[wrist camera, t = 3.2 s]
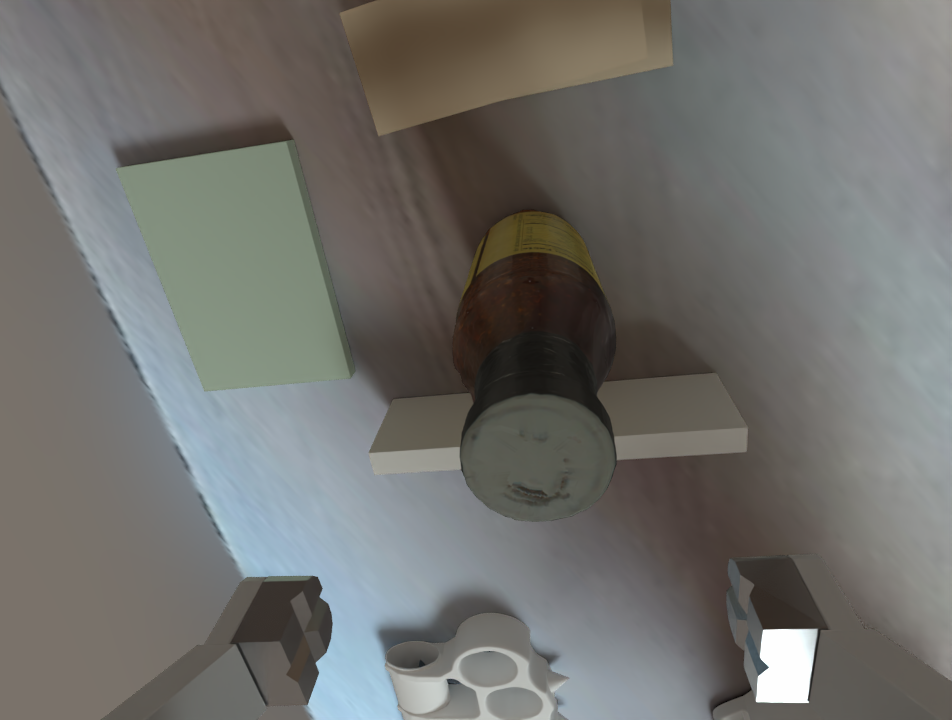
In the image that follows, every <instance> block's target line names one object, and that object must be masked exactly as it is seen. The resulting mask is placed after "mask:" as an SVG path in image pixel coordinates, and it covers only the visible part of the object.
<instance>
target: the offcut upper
mask: <svg viewBox="0 0 952 720" xmlns="http://www.w3.org/2000/svg"><path fill="white" fill-rule="evenodd" d="M339 14H340V17H341V20H342V23H343V26H344V30H345V33H346V36H347V39H348V42H349V45H350V48H351V51H352V55H353V58H354V61H355V64H356V67H357V70H358V73H359V77H360V80H361V83H362V86H363V89H364V92H365V95H366V98H367V102H368V105H369V108H370V111H371V114H372V117H373V120H374V124H375V127H376V130H377V133H378V136H381V135H385V134H388V133H392V132H395V131H399V130H402V129H405V128H409V127H412V126H416V125H419V124H423V123H426V122H430V121H433V120H437V119H440V118H443V117H447V116H450V115H454V114H457V113H461V112H464V111H468V110H471V109H475V108H478V107H482V106H485V105H488V104H492V103H495V102H499V101H502V100H506V99H509V98H513V97H516V96H520V95H523V94H527V93H530V92H533V91H537V90H540V89H544V88H547V87H551V86H554V85H558V84H561V83H565V82H568V81H572V80H575V79H578V78H582V77H585V76H589V75H592V74H596V73H599V72H603V71H606V70H610V69H613V68H617V67H620V66H623V65H627V64H630V63H634V62H637V61H641V60H644V59H648V54H647V46H646V38H645V30H644V22H643V13H642V5H641V0H376V1H373V2H370V3H367V4H364V5H361V6H358V7H355V8H352V9H349V10H346V11H343V12H341V13H339Z"/></svg>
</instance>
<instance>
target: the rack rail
mask: <svg viewBox="0 0 952 720" xmlns="http://www.w3.org/2000/svg"><path fill="white" fill-rule="evenodd" d="M597 397H598V399H599V400H600V402H601V403H602V404H603V406H604V408H605V409H606V411H607V413H608V415H609V417H610V420H611V424H612V429H613V434H614V441H615V446H616V454H617V460H626V459H643V458H659V457H675V456H692V455H708V454H724V453H741V452H747V438H748V426H747V425H746V423H745V421H744V420H743V418H742V416H741V414H740V413H739V411H738V409H737V408H736V406H735V404H734V403H733V401H732V399H731V397H730V396H729V394H728V392H727V391H726V389H725V387H724V385H723V384H722V382H721V380H720V379H719V377H718V375H717V374H716V373H705V374H693V375H681V376H669V377H656V378H644V379H632V380H620V381H608V382H603V384H602V386H601V387H600V389H599V390H598V392H597ZM472 405H473V400H472V396H471V394H470V393H461V394H449V395H437V396H425V397H412V398H400V399H393V400H392V402H391V405H390V407H389V409H388V411H387V413H386V416H385V418H384V420H383V422H382V424H381V427H380V429H379V431H378V433H377V435H376V438H375V440H374V442H373V444H372V446H371V449H370V451H369V457H370V461H371V464H372V468H373V471H374V475H381V474H397V473H414V472H430V471H446V470H461V462H460V445H461V434H462V431H463V427H464V424H465V420H466V417H467V414H468V412H469V410H470V408H471V406H472Z"/></svg>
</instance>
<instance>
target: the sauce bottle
mask: <svg viewBox="0 0 952 720" xmlns="http://www.w3.org/2000/svg"><path fill="white" fill-rule="evenodd" d="M615 349H616V331H615V323H614V318H613V315H612V311H611V308H610V305H609V303H608V301H607V298H606V296H605V293H604V291H603V289H602V286H601V284H600V281H599V279H598V276H597V274H596V271H595V268H594V266H593V263H592V260H591V258H590V255H589V252H588V250H587V247H586V245H585V243H584V241H583V239H582V238H581V236H580V235H579V234H578V232H577V231H576V230H575V229H574V228H573V227H572V226H571V225H570V224H569V223H567V222H566V221H565V220H563V219H561V218H559V217H558V216H556V215H553V214H549V213H546V212H539V211H535V210H522V211H520V212H518V213H515V214H511V215H510V216H508V217H506V218H504V219H503V220H501V221H499V222H498V223H497V224H495V225H494V226H493V227H491V228H490V229H489V230H488V232H487V233H486V235H485V236H484V237H483V239H482V240H481V242H480V244H479V246H478V248H477V250H476V253H475V256H474V259H473V262H472V265H471V268H470V271H469V275H468V278H467V281H466V284H465V288H464V291H463V294H462V297H461V300H460V304H459V307H458V312H457V317H456V325H455V329H454V335H453V361H454V366H455V369H456V370H457V371H458V372H459V373H460V375H461V379H462V383H463V384H464V385H465V386H466V387H467V389H468V390H469V392H470V394H471V396H472V400H473V405H472V406H471V408H470V410H469V412H468V414H467V417H466V420H465V424H464V427H463V431H462V434H461V445H460V462H461V470H462V472H463V475H464V477H465V480H466V483H467V485H468V487H469V488H470V489H471V491H472V492H473V493H474V495H475V496H476V497H477V498H478V499H479V500H481V501H482V502H483V503H484V504H485V505H486V506H487V507H488V508H489V509H491V510H493V511H495V512H497V513H499V514H501V515H503V516H505V517H509V518H512V519H514V520H520V521H532V522H540V521H552V520H557V519H561V518H566V517H571V516H574V515H575V514H577V513H579V512H581V511H584V510H586V509H588V508H589V507H590V506H592V505H593V504H594V503H595V502H596V501H597V500H599V498H600V497H601V496H602V495H603V493H604V492H605V491H606V489H607V488H608V486H609V483H610V481H611V478H612V476H613V472H614V469H615V467H616V462H617V454H616V446H615V441H614V434H613V429H612V424H611V420H610V417H609V415H608V413H607V411H606V409H605V408H604V406H603V404H602V403H601V402H600V400H599V399H598V397H597V392H598V390H599V389H600V387H601V386H602V384H603V382H604V381H605V379H606V377H607V375H608V373H609V371H610V368H611V366H612V363H613V359H614V356H615Z"/></svg>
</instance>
